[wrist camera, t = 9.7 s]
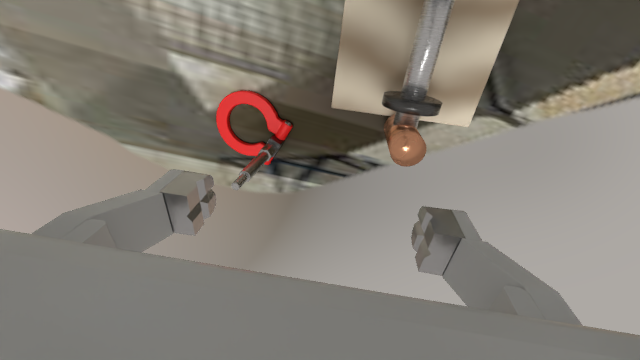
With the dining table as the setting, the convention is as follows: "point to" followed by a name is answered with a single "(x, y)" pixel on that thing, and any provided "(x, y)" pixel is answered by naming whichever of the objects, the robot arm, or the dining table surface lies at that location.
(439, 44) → the flanged metal rod
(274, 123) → the tow hook
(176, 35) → the dining table surface
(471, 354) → the robot arm
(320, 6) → the dining table surface
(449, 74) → the base board
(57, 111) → the dining table surface
